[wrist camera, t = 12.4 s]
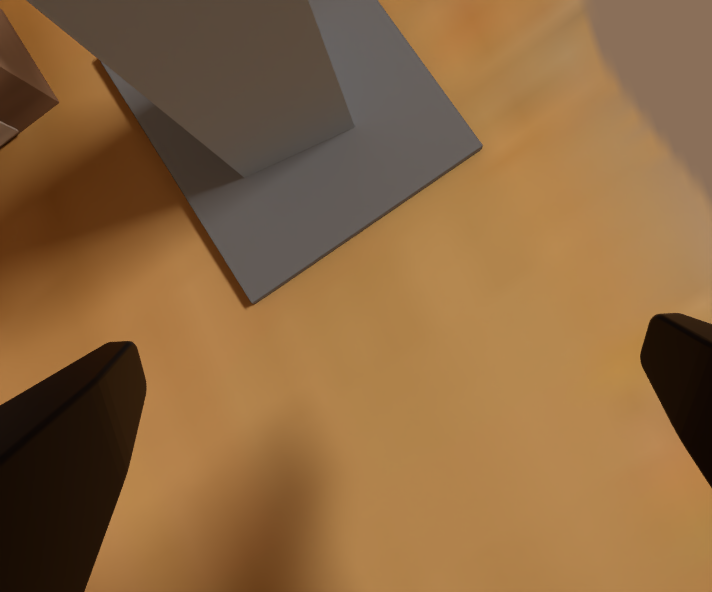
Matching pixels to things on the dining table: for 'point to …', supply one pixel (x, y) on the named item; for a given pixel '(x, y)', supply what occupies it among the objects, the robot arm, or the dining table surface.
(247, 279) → the coaster
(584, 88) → the dining table surface
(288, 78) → the slate block
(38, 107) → the walnut cube
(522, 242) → the dining table surface
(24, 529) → the robot arm
